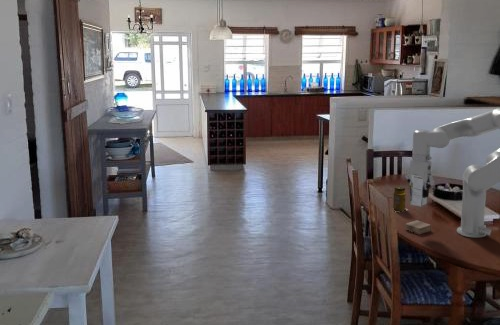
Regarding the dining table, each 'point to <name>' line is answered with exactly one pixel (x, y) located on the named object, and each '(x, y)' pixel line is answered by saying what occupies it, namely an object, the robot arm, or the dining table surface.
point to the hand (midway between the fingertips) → (419, 195)
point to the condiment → (399, 199)
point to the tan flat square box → (418, 227)
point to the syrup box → (417, 191)
